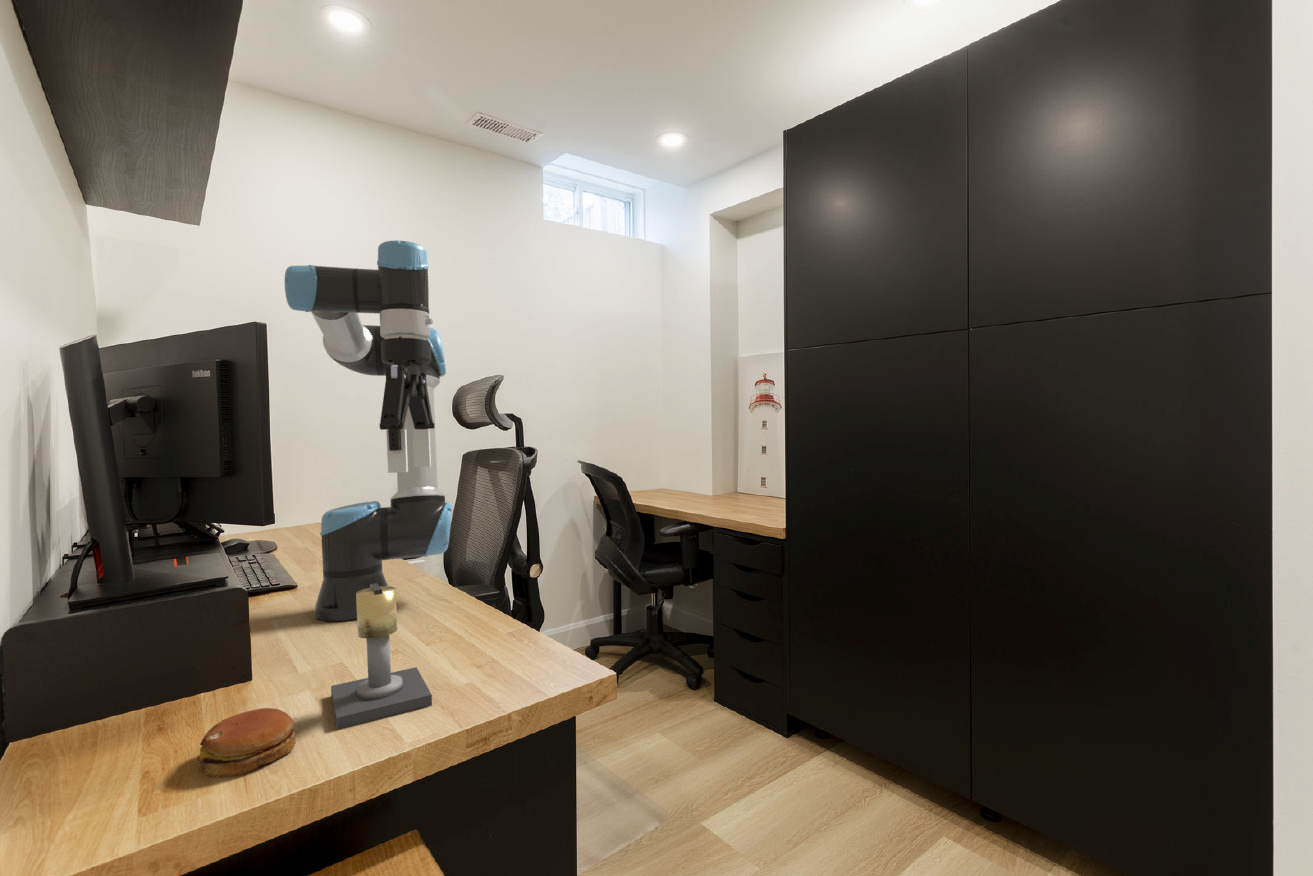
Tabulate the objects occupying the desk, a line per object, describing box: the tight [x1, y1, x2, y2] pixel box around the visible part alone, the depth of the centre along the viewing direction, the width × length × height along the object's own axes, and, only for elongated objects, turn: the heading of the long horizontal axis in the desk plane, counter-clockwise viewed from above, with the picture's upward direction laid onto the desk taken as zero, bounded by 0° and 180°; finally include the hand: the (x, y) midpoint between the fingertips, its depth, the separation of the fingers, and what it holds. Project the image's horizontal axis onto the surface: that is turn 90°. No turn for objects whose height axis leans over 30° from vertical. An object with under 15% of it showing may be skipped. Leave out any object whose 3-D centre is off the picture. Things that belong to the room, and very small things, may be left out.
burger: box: [197, 707, 297, 778], centre depth 74 cm, size 10×9×5 cm
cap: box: [356, 583, 398, 639], centre depth 88 cm, size 5×5×7 cm
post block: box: [330, 635, 433, 730], centre depth 88 cm, size 12×12×10 cm
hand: (411, 469), depth 100 cm, fingers open, 13 cm apart
